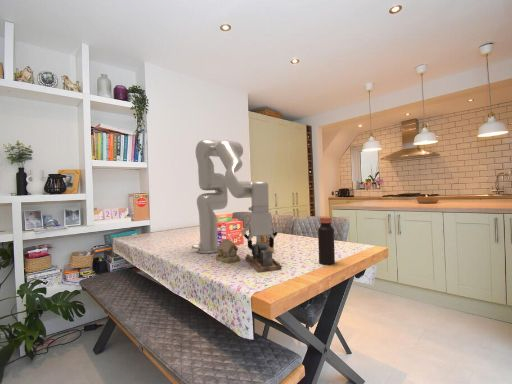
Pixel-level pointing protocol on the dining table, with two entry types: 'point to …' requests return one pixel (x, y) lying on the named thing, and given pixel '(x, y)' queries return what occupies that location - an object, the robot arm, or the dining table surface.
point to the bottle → (326, 241)
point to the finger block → (259, 247)
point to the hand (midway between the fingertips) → (260, 247)
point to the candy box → (266, 239)
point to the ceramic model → (227, 252)
